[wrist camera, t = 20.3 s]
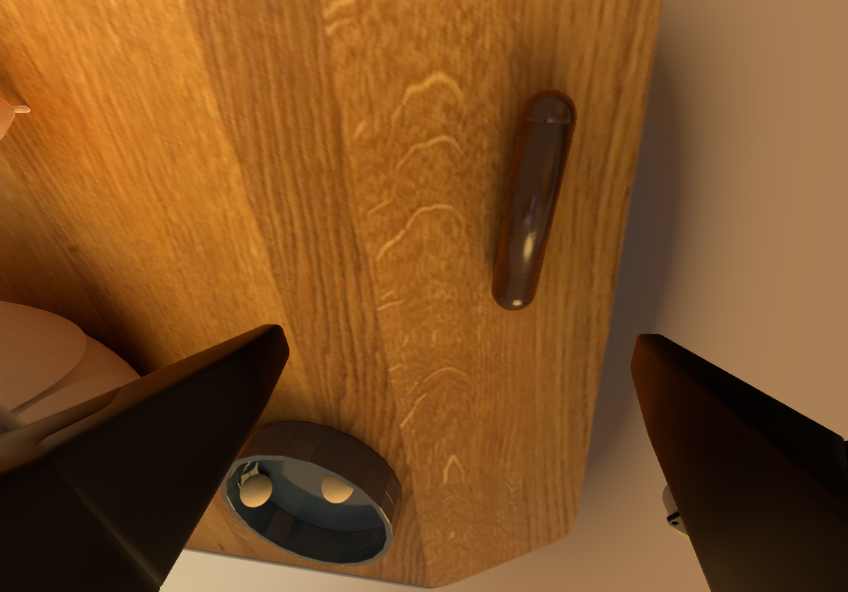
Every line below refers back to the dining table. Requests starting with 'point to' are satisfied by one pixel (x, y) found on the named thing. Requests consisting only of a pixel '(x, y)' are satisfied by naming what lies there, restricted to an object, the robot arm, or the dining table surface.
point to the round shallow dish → (316, 494)
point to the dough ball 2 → (335, 489)
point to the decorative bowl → (50, 366)
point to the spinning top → (9, 115)
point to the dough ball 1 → (256, 490)
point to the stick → (532, 196)
